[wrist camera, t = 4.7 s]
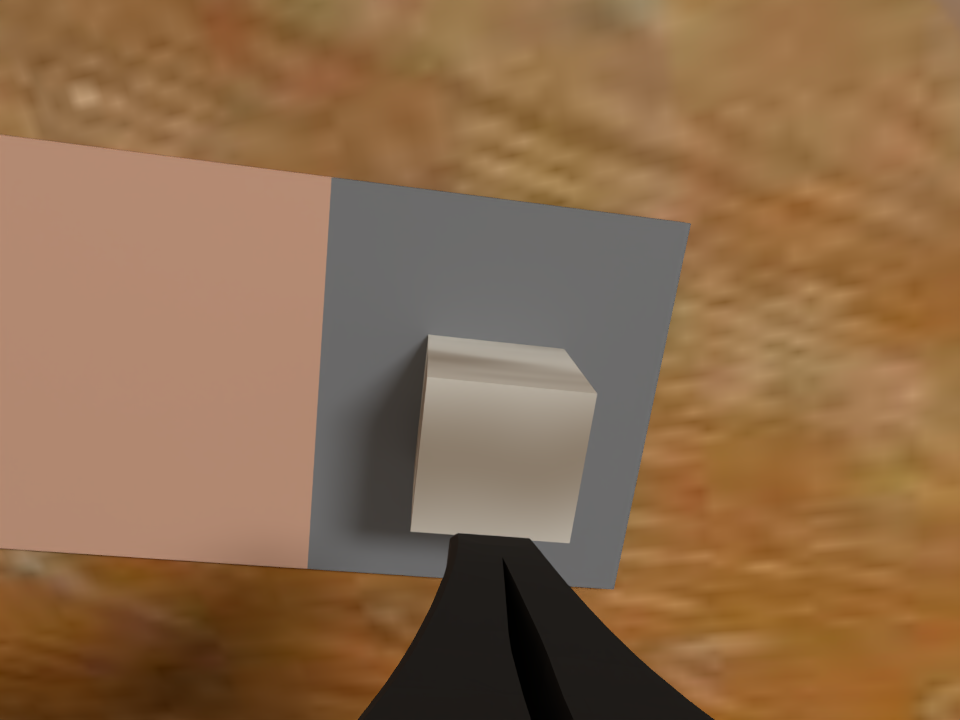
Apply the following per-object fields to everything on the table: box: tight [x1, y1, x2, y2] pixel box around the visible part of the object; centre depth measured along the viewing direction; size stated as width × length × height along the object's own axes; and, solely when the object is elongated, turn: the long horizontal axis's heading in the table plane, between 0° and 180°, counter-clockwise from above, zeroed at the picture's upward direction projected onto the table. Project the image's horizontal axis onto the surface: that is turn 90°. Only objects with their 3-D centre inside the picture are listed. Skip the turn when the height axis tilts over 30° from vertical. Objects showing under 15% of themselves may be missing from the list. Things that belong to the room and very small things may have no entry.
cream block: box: [410, 335, 597, 543], centre depth 17 cm, size 4×4×4 cm
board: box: [0, 135, 691, 589], centre depth 19 cm, size 12×22×1 cm, turn 83°
